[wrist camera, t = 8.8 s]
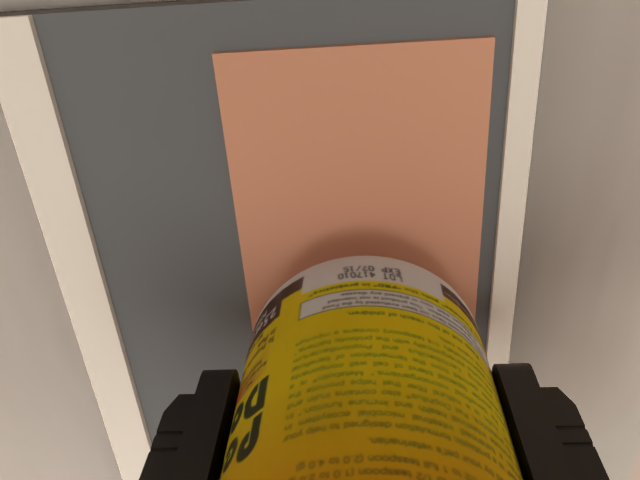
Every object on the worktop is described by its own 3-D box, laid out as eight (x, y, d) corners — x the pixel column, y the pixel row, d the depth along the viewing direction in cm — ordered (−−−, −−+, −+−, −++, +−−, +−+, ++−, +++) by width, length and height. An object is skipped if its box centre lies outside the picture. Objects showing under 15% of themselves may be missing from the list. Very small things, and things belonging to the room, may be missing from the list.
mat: (142, 489, 21) (133, 514, 20) (-3, 12, 14) (-27, 19, 13) (486, 486, 21) (492, 511, 20) (536, -23, 13) (549, -18, 12)
